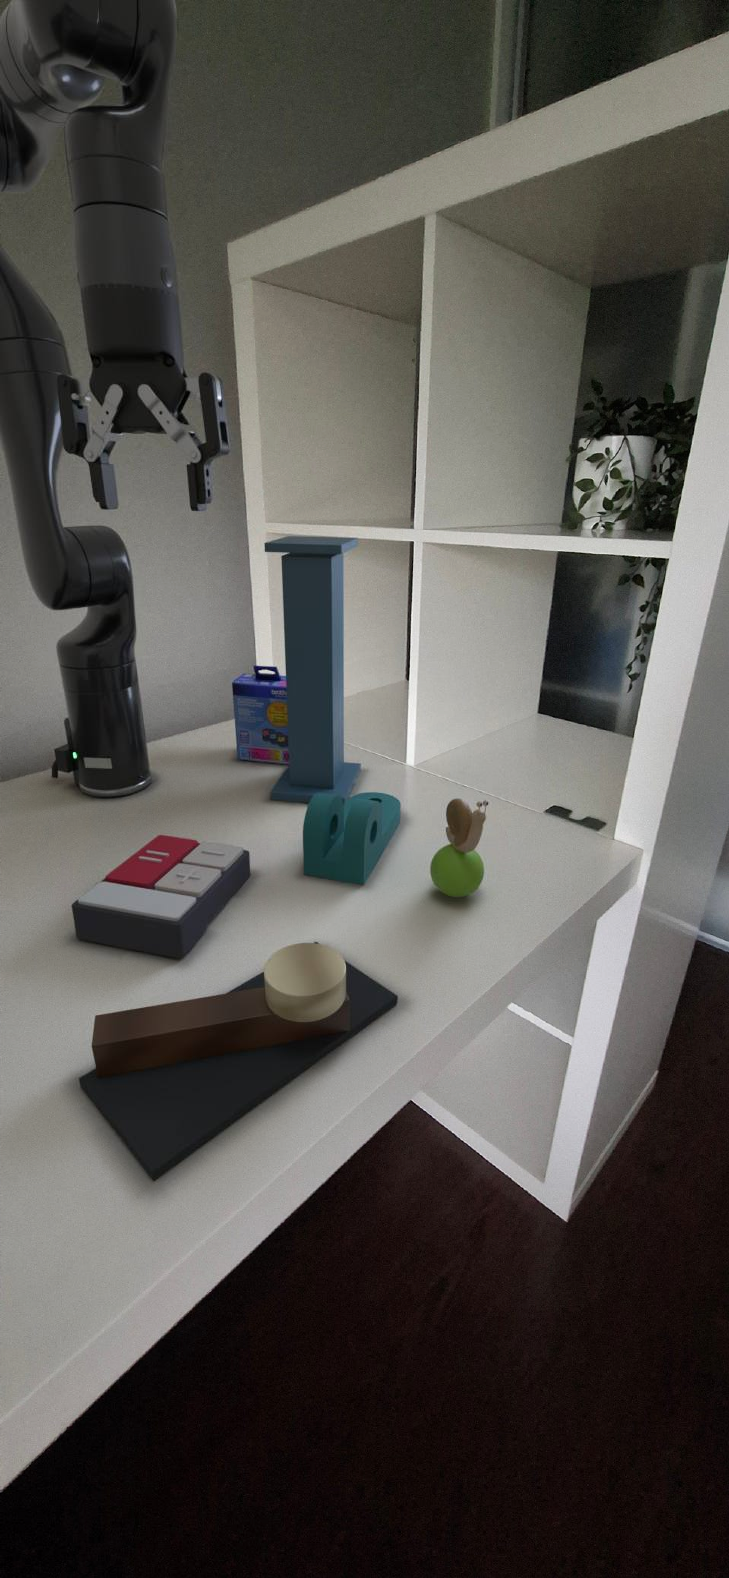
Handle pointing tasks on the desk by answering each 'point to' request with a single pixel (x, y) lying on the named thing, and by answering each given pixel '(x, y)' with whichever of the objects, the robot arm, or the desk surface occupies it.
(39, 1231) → the desk surface
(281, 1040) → the tape bar
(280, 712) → the ink cartridge box
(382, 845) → the bracket
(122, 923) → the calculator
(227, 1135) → the desk surface
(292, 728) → the stand
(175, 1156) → the rubber mat
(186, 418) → the robot arm
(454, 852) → the snail figurine
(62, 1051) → the desk surface
